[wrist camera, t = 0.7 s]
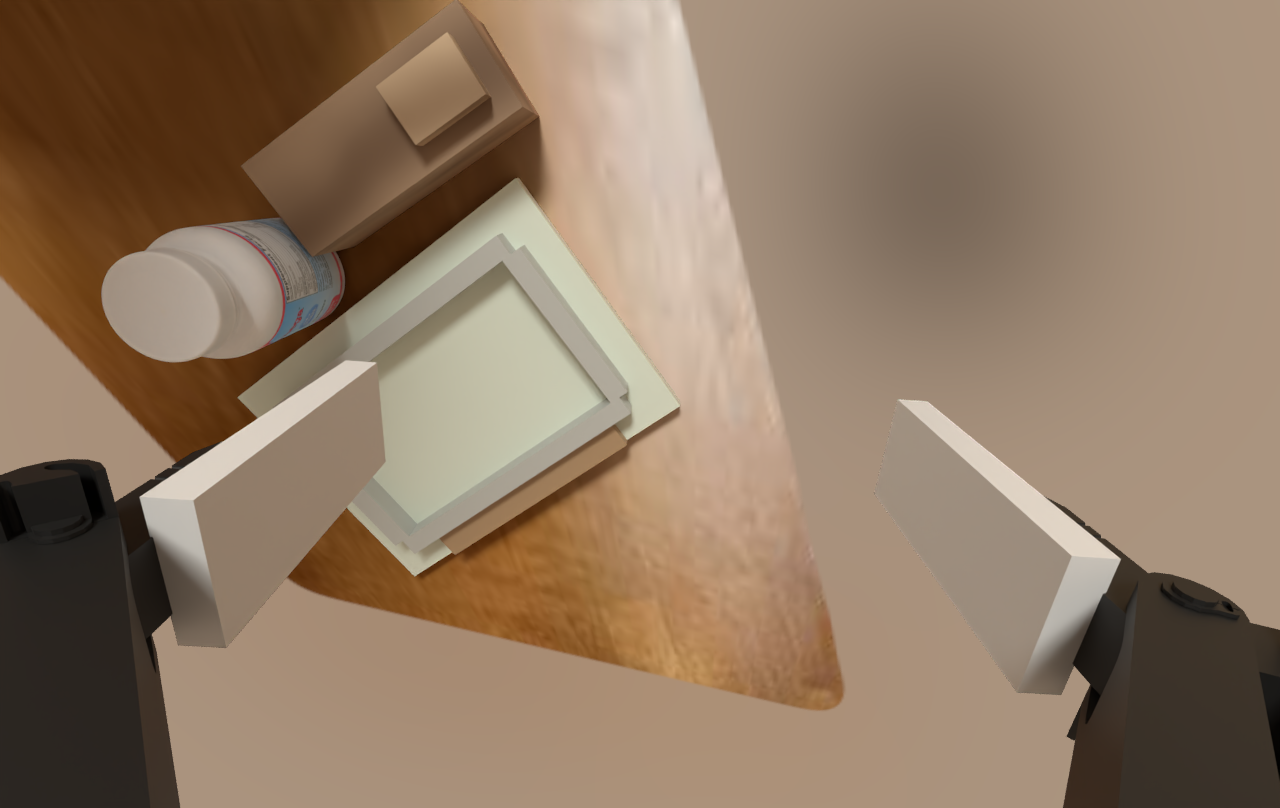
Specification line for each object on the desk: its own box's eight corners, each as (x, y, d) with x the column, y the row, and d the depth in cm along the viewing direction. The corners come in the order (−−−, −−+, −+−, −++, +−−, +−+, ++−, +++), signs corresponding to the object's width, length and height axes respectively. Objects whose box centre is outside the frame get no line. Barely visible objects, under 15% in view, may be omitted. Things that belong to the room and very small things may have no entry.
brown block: (296, 167, 34) (227, 165, 28) (484, 25, 31) (449, -8, 25) (356, 246, 35) (301, 259, 29) (540, 116, 33) (518, 104, 27)
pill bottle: (275, 335, 36) (136, 398, 26) (221, 235, 34) (46, 260, 24) (367, 304, 36) (264, 356, 25) (318, 202, 34) (184, 212, 23)
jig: (247, 392, 38) (221, 406, 36) (519, 178, 33) (509, 178, 31) (419, 567, 43) (406, 590, 40) (679, 400, 38) (681, 414, 36)
